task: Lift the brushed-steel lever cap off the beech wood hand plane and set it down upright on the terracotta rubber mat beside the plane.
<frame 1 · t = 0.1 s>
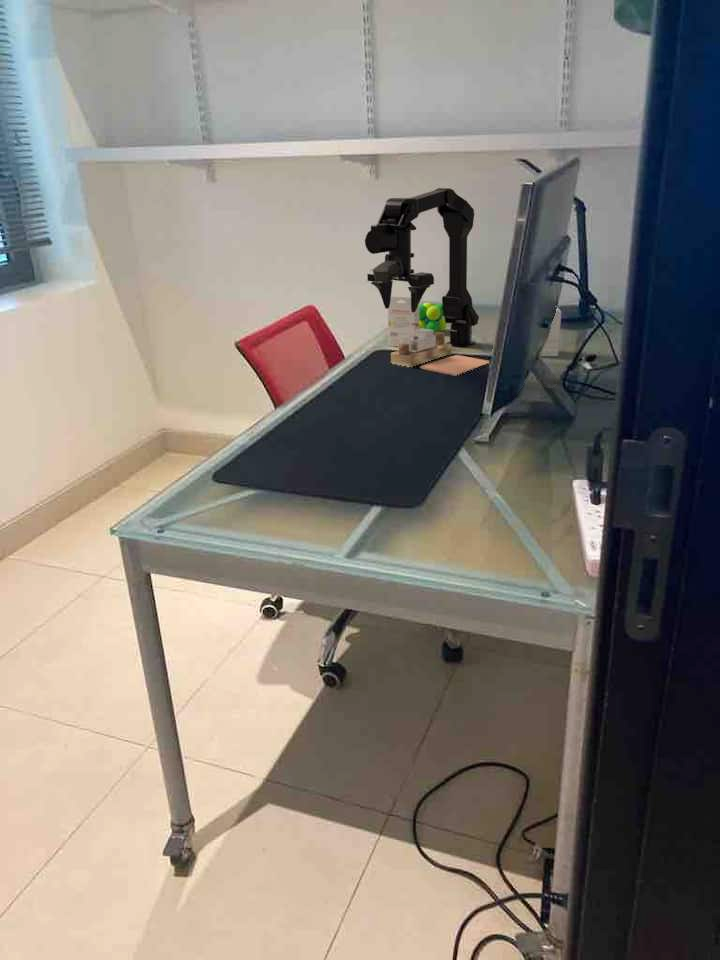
hand: (400, 310, 203), 14 cm above the table, fingers open, 9 cm apart
rubber mat: (456, 366, 205), on the table
lever cap: (419, 347, 210), point 3 cm above the table, touching hand plane
ink cartridge box: (403, 345, 229), on the table
molecule model: (430, 332, 244), on the table
supplement box: (543, 354, 215), on the table
hand plane: (421, 359, 212), on the table
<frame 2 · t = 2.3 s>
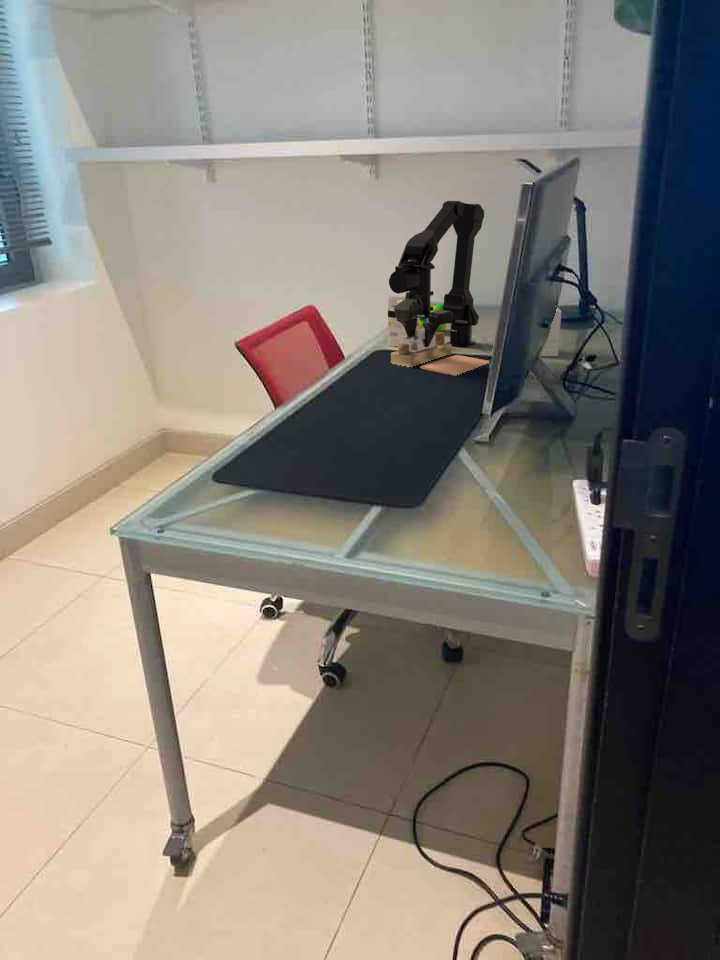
hand: (419, 345, 210), 4 cm above the table, fingers closed on lever cap, 5 cm apart
lever cap: (419, 347, 210), point 3 cm above the table, touching gripper, hand plane
everything else where it was.
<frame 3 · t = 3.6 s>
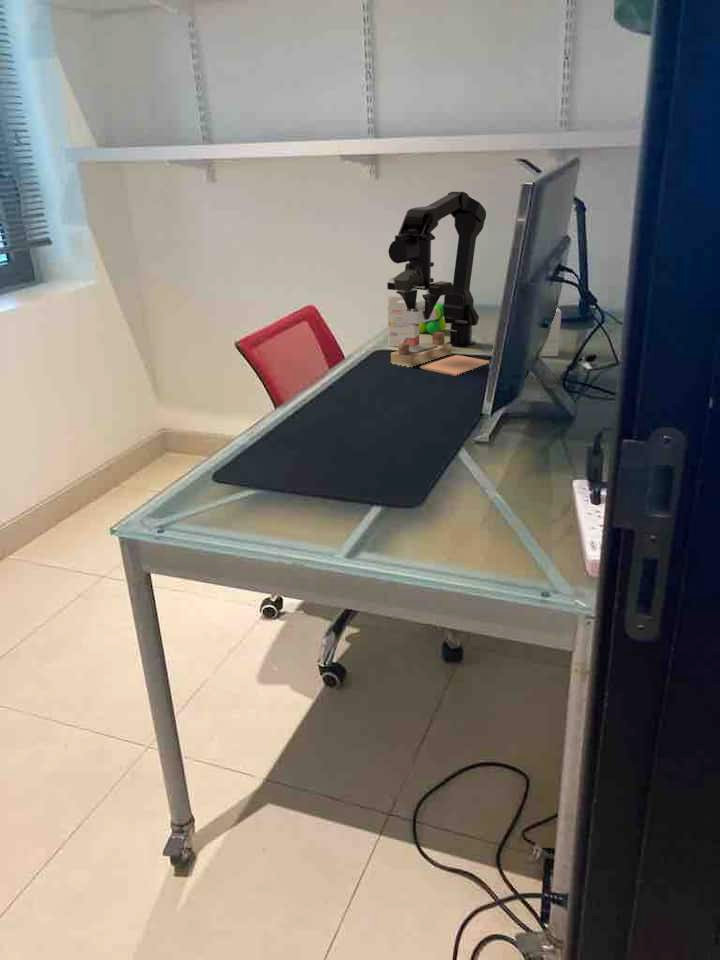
hand: (419, 318, 207), 12 cm above the table, fingers closed on lever cap, 5 cm apart
lever cap: (419, 320, 207), point 11 cm above the table, touching gripper
everything else where it was.
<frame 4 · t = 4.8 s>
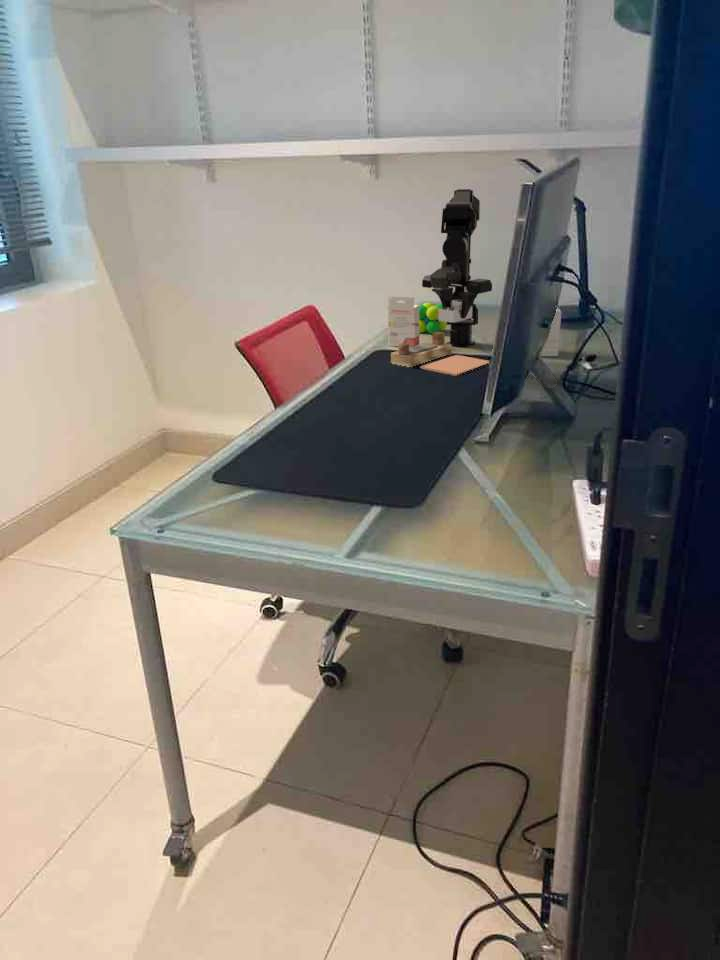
hand: (455, 317, 200), 13 cm above the table, fingers closed on lever cap, 5 cm apart
lever cap: (455, 319, 200), point 13 cm above the table, touching gripper
everything else where it was.
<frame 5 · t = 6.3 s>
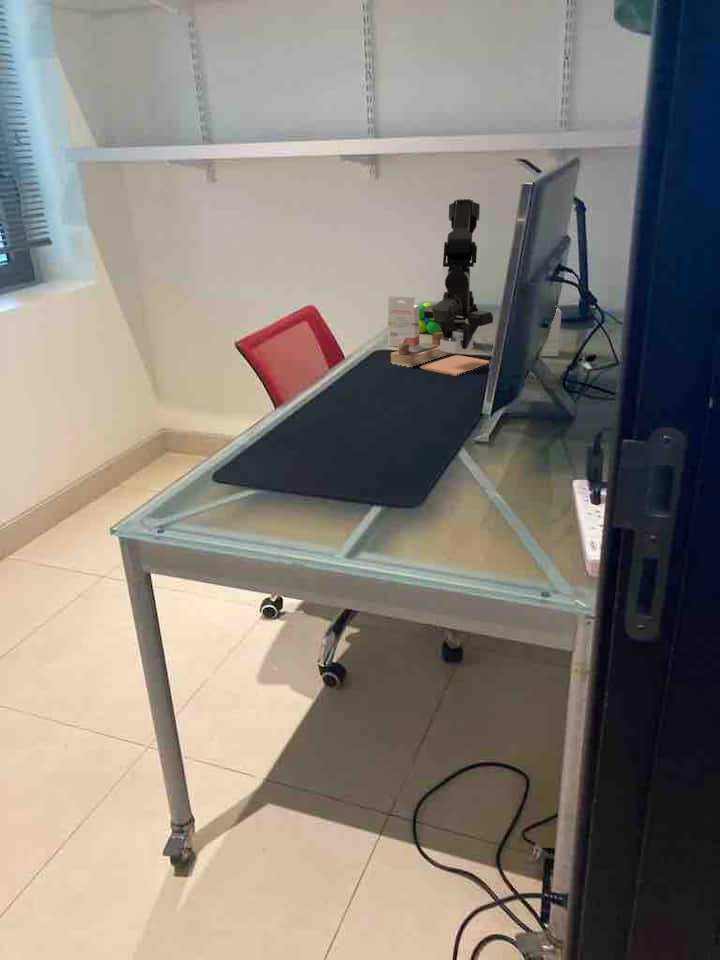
hand: (456, 347, 203), 5 cm above the table, fingers closed on lever cap, 5 cm apart
lever cap: (456, 349, 203), point 5 cm above the table, touching gripper
everything else where it was.
when the fingers open (3 cm above the table, at t = 7.6 s): lever cap drops 2 cm, resting on rubber mat.
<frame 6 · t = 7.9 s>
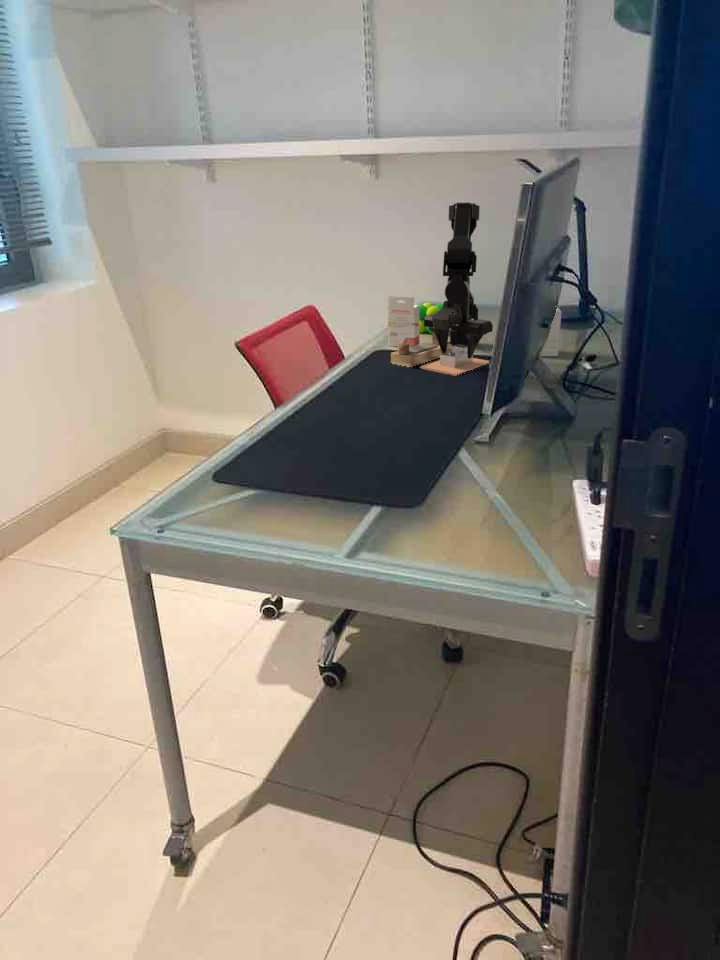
hand: (456, 355, 204), 3 cm above the table, fingers open, 8 cm apart
lever cap: (456, 363, 204), point 1 cm above the table, touching rubber mat
everything else where it was.
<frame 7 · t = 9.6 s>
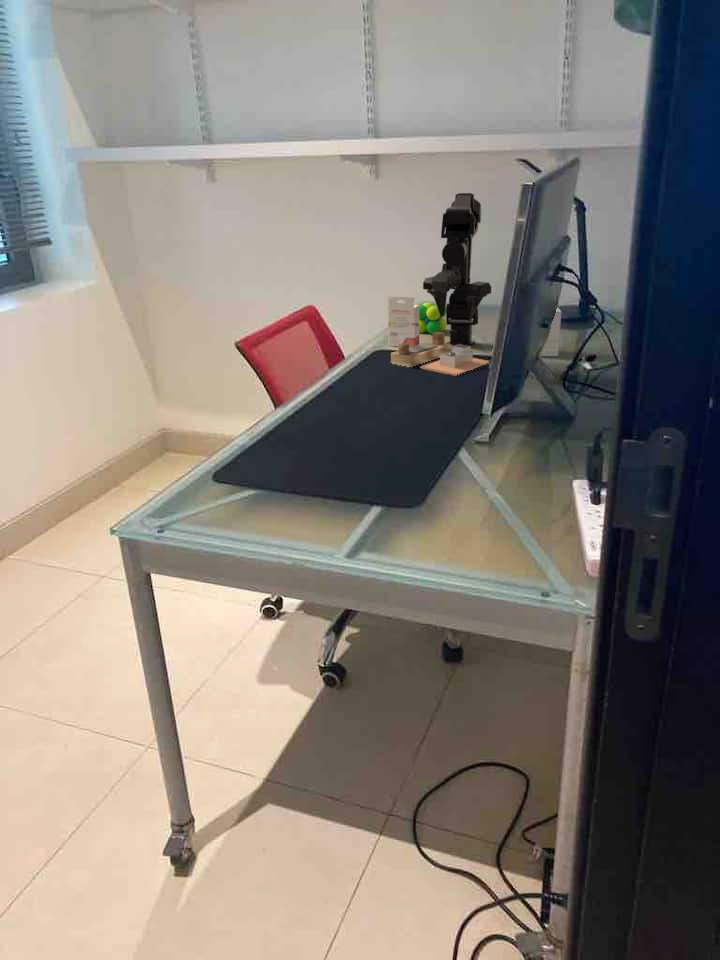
hand: (455, 318, 206), 11 cm above the table, fingers open, 9 cm apart
nothing on the table moved.
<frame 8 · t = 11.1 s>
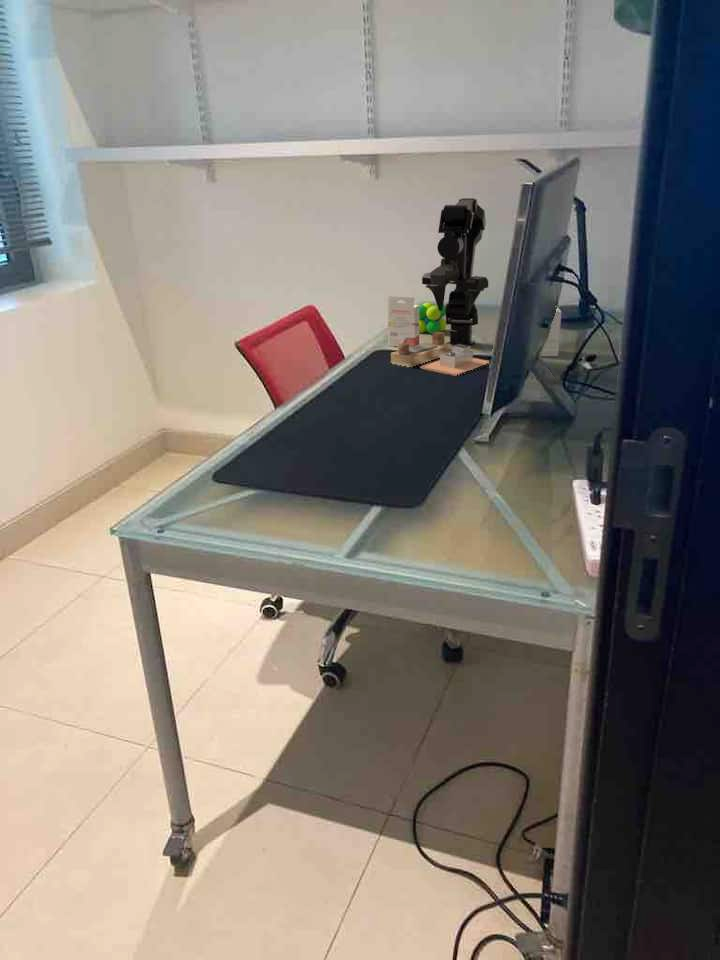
hand: (453, 312, 211), 12 cm above the table, fingers open, 9 cm apart
nothing on the table moved.
at the end: lever cap inside the target area on the rubber mat (0.1 cm from its centre), point 0.6 cm above the rubber mat's base; lever cap tilted 0°; the gripper is holding nothing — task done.
